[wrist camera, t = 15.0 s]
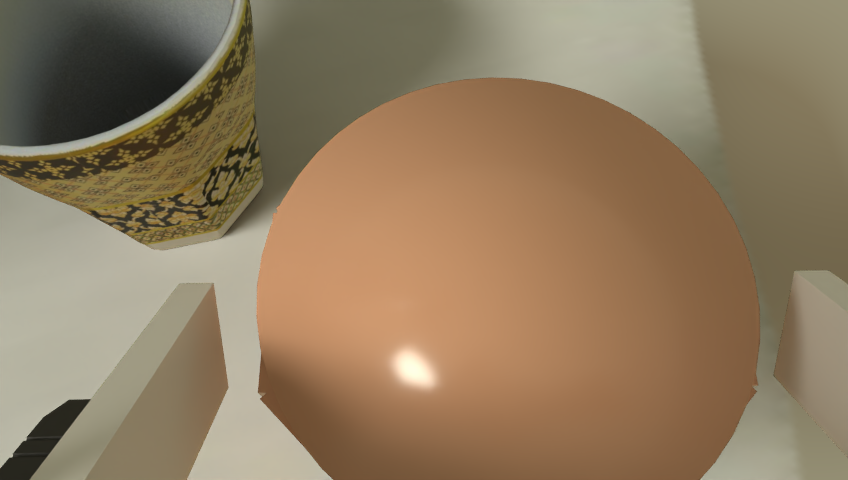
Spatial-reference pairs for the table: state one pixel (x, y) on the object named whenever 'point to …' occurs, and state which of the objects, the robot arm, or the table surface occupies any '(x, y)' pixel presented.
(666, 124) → the table surface
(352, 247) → the peach domed post
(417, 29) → the table surface
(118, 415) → the robot arm
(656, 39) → the table surface
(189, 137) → the ceramic cup
